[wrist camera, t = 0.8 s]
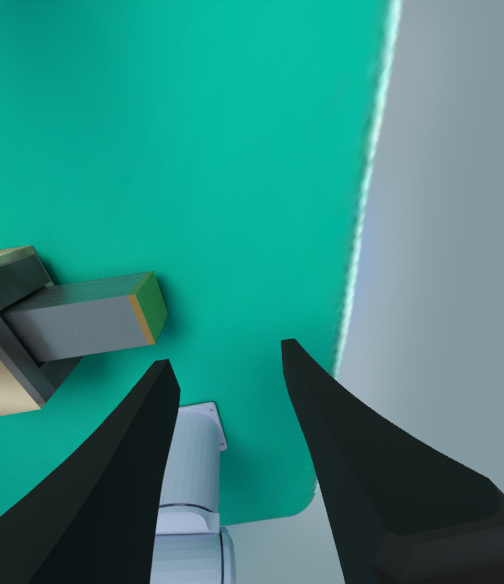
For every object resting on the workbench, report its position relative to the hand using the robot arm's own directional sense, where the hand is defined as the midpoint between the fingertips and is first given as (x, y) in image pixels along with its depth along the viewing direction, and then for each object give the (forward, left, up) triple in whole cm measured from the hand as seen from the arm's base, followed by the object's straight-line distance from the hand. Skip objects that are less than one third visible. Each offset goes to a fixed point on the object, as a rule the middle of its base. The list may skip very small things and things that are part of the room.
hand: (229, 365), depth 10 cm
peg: (0, +12, -9) cm, 15 cm away
